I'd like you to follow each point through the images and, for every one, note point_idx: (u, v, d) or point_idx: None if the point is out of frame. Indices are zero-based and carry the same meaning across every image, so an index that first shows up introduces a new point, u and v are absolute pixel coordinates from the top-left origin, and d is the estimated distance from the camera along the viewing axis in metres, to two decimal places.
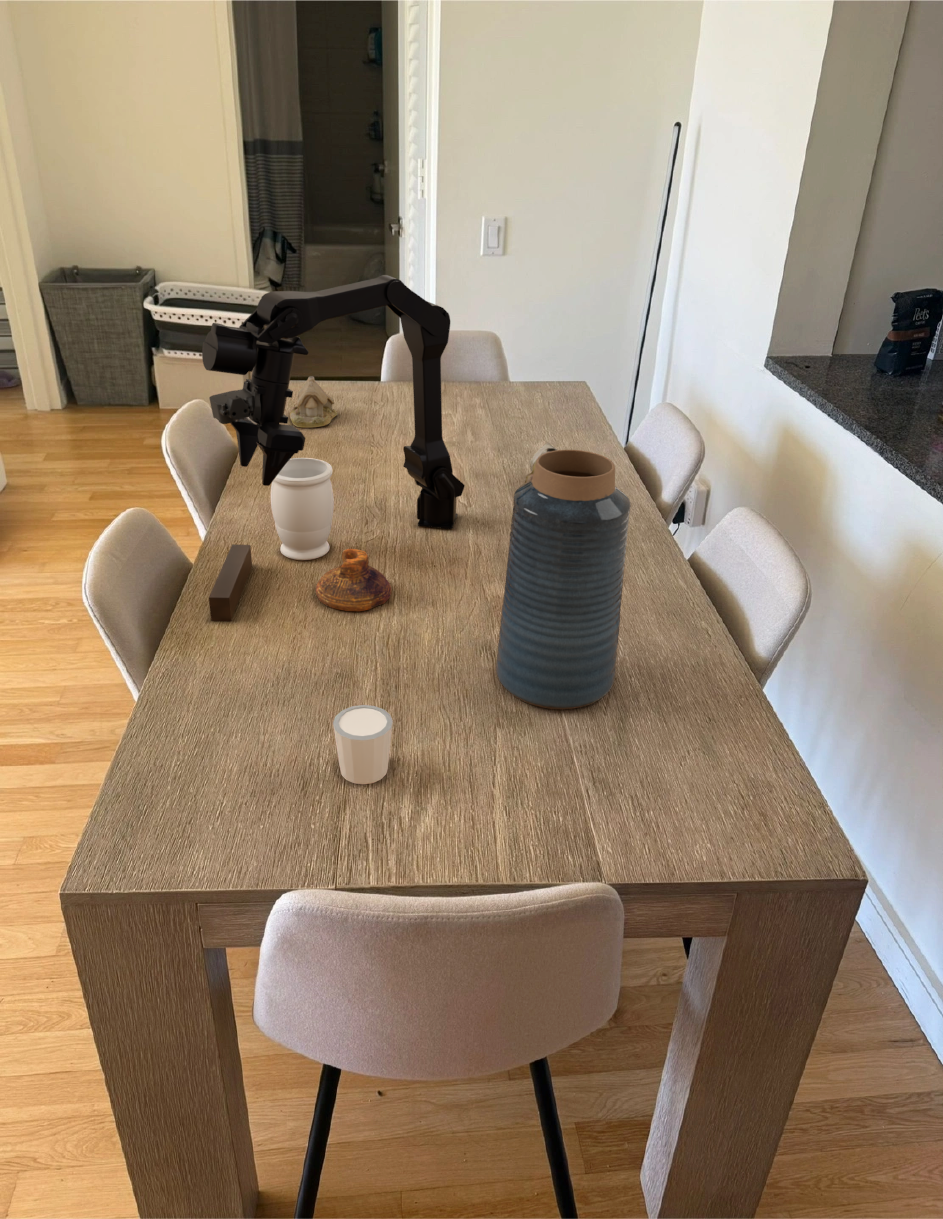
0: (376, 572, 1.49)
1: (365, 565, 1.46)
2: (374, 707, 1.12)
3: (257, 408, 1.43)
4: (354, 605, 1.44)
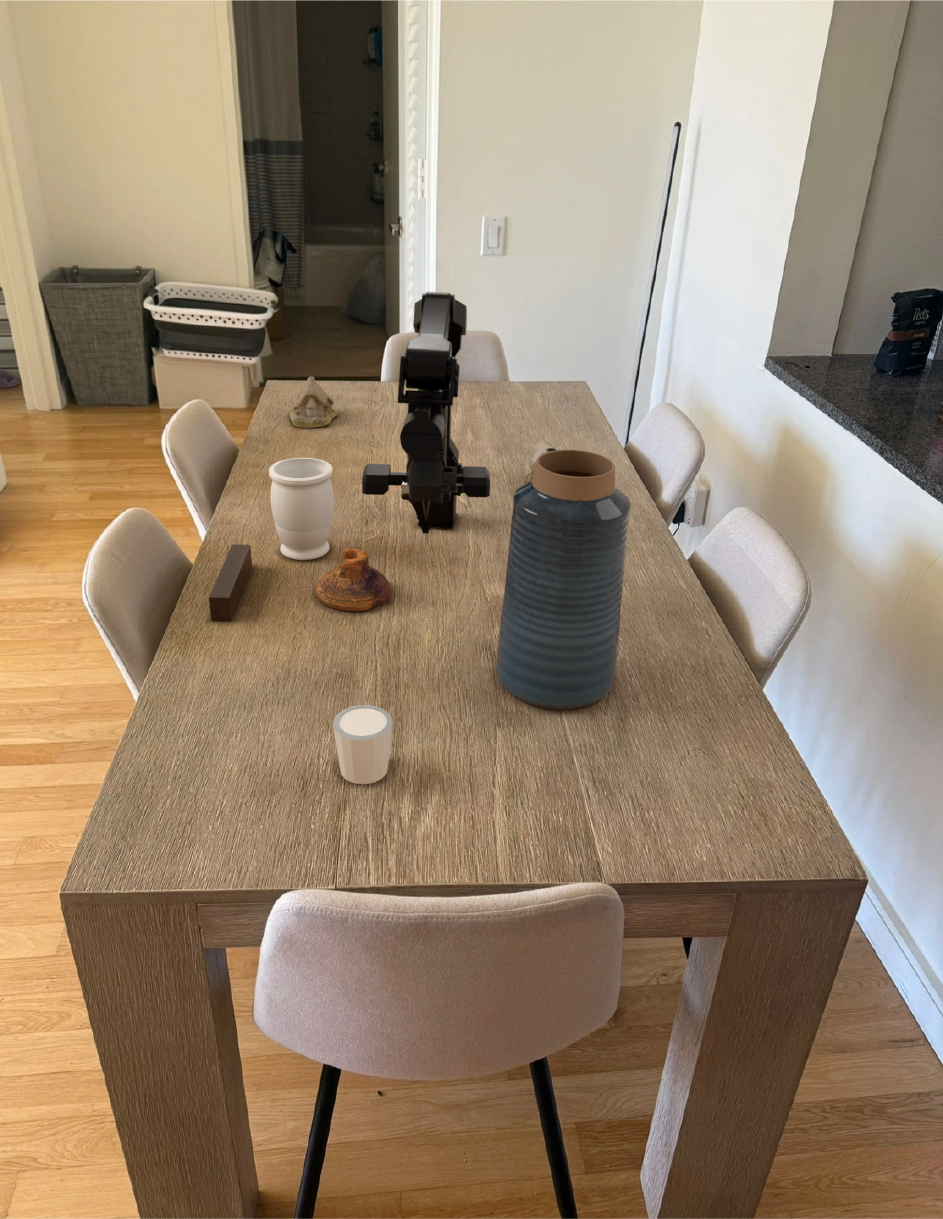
0: (376, 572, 1.49)
1: (365, 565, 1.46)
2: (374, 707, 1.12)
3: None
4: (354, 605, 1.44)
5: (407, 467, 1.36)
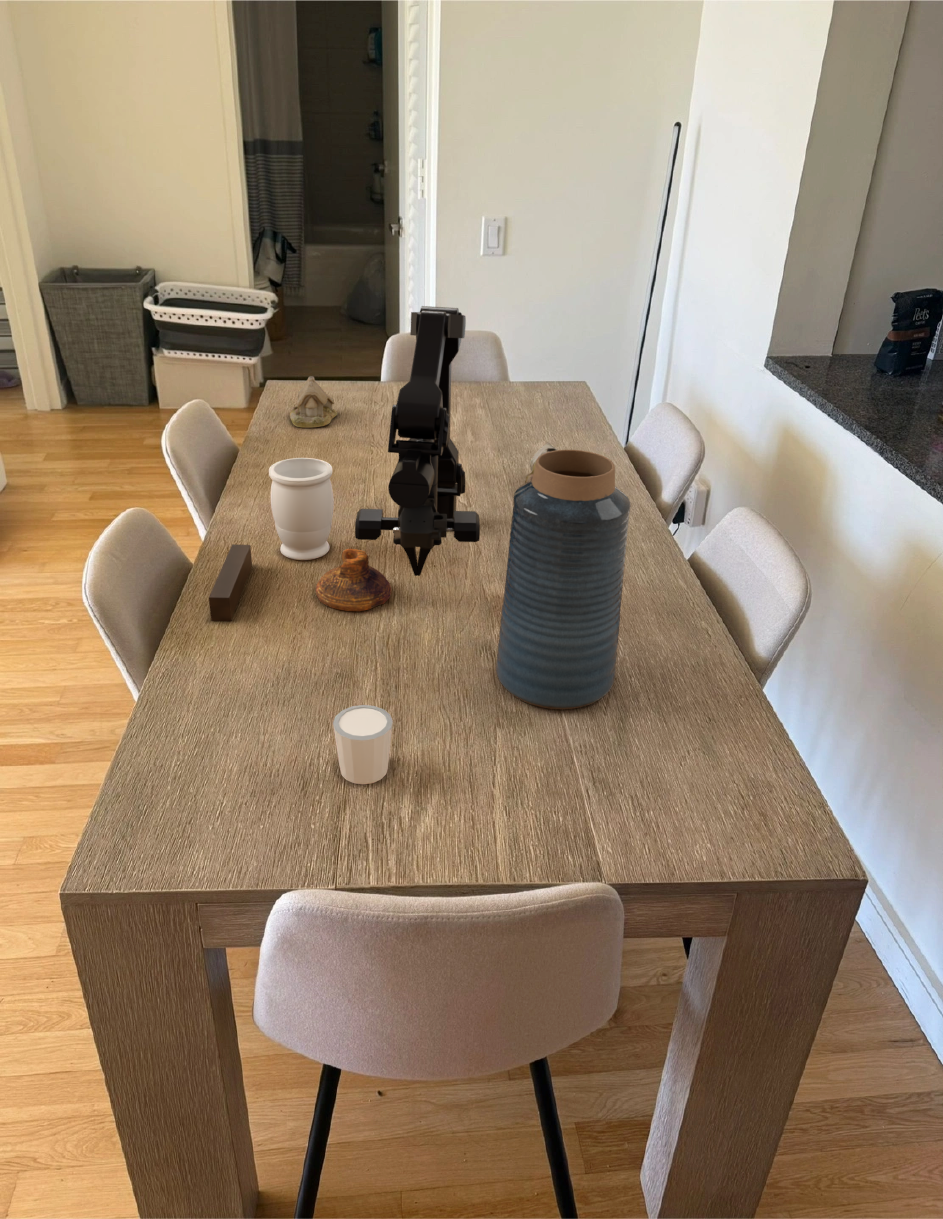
0: (376, 572, 1.49)
1: (365, 565, 1.46)
2: (374, 707, 1.12)
3: None
4: (354, 605, 1.44)
5: (399, 513, 1.39)
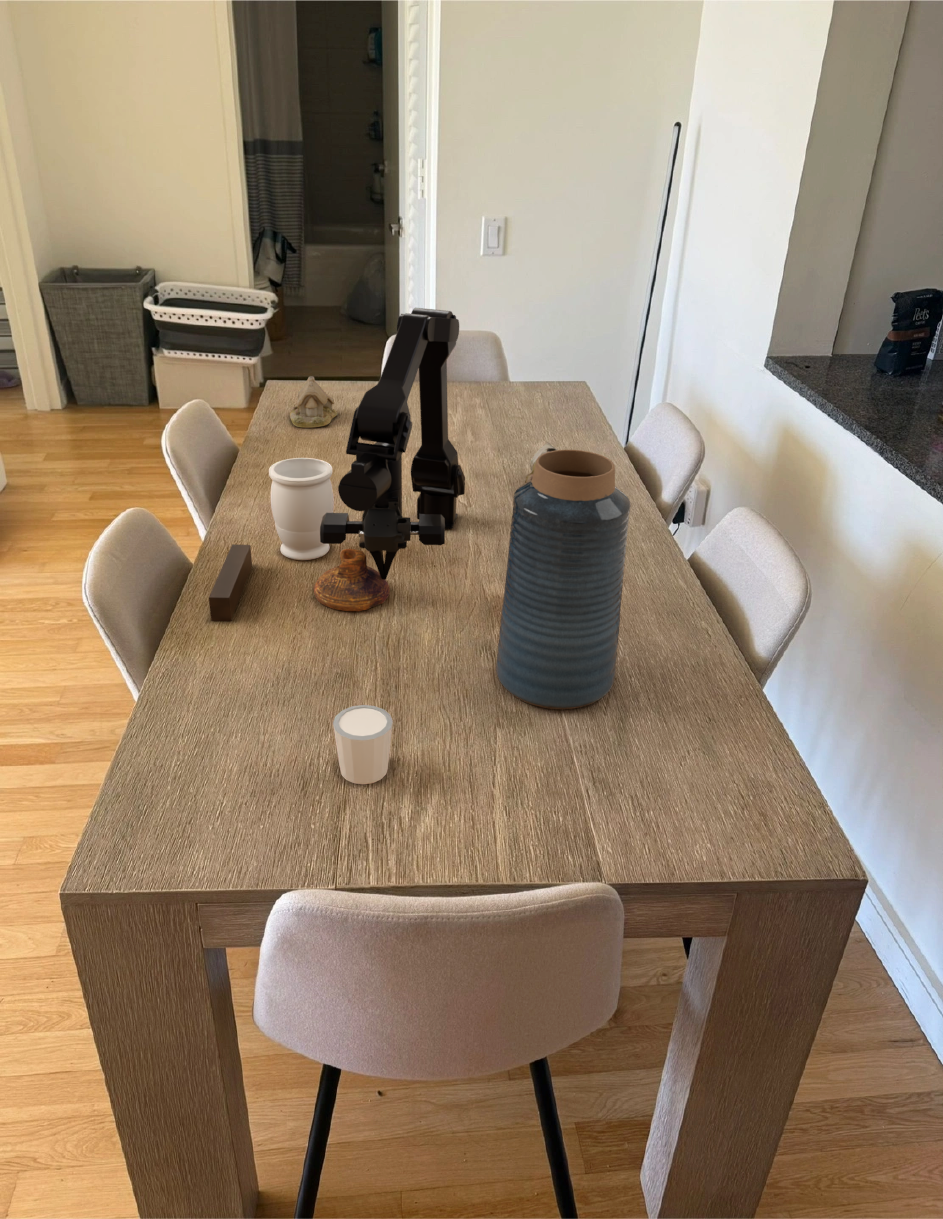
0: (374, 572, 1.49)
1: (363, 565, 1.46)
2: (374, 707, 1.12)
3: None
4: (352, 605, 1.44)
5: (363, 517, 1.40)
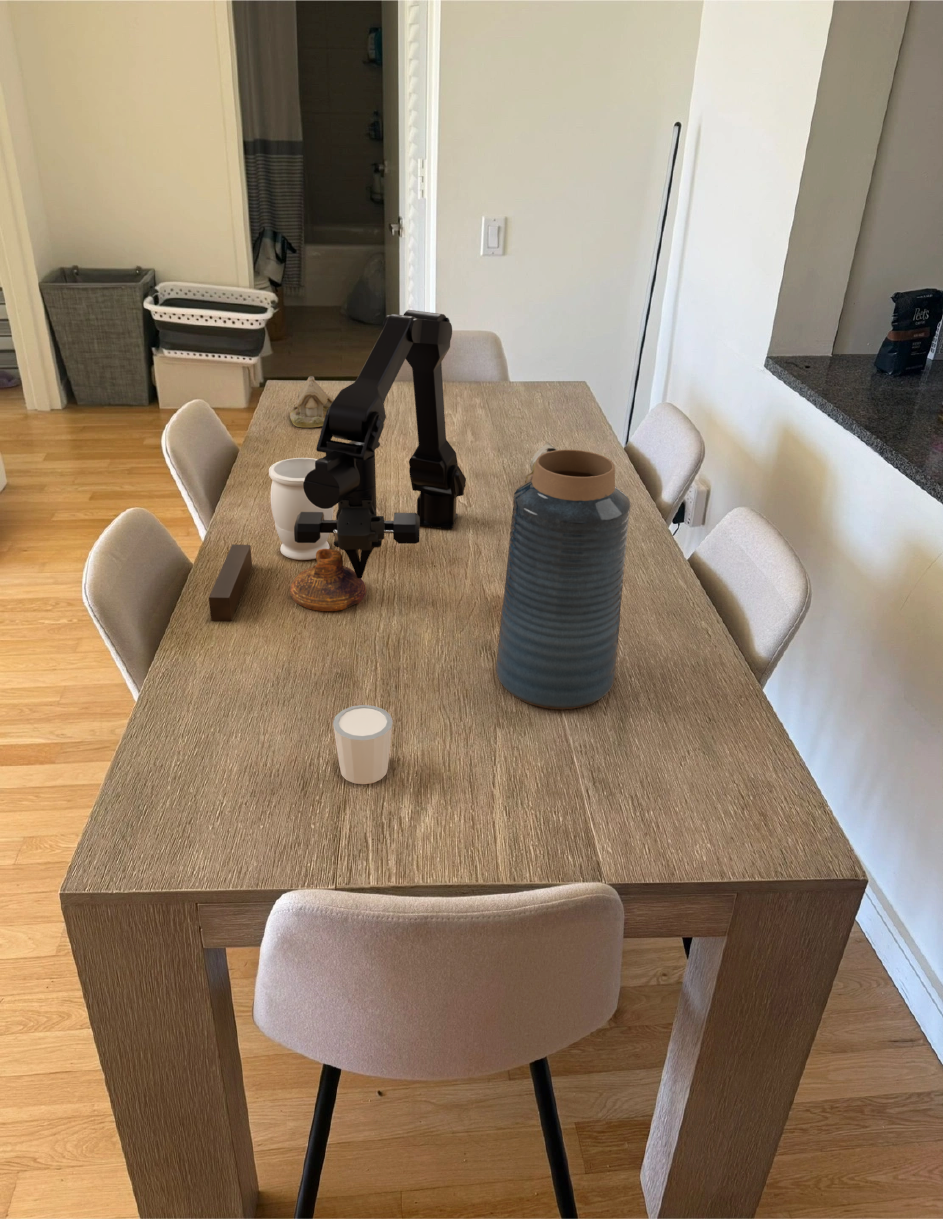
0: (351, 572, 1.49)
1: (339, 565, 1.45)
2: (374, 707, 1.12)
3: None
4: (329, 605, 1.44)
5: (337, 516, 1.39)
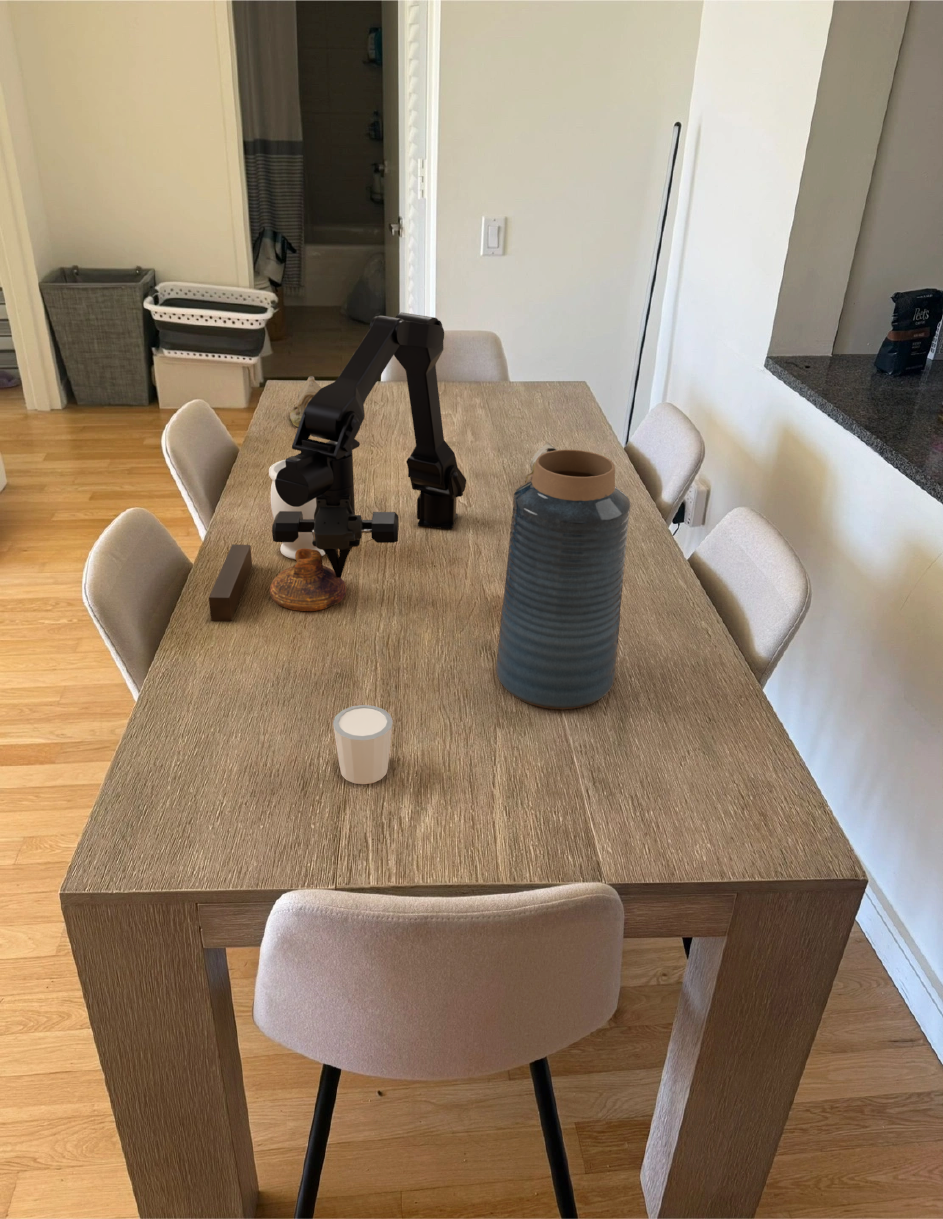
0: (331, 571, 1.49)
1: (319, 564, 1.45)
2: (374, 707, 1.12)
3: None
4: (309, 605, 1.43)
5: (315, 515, 1.39)
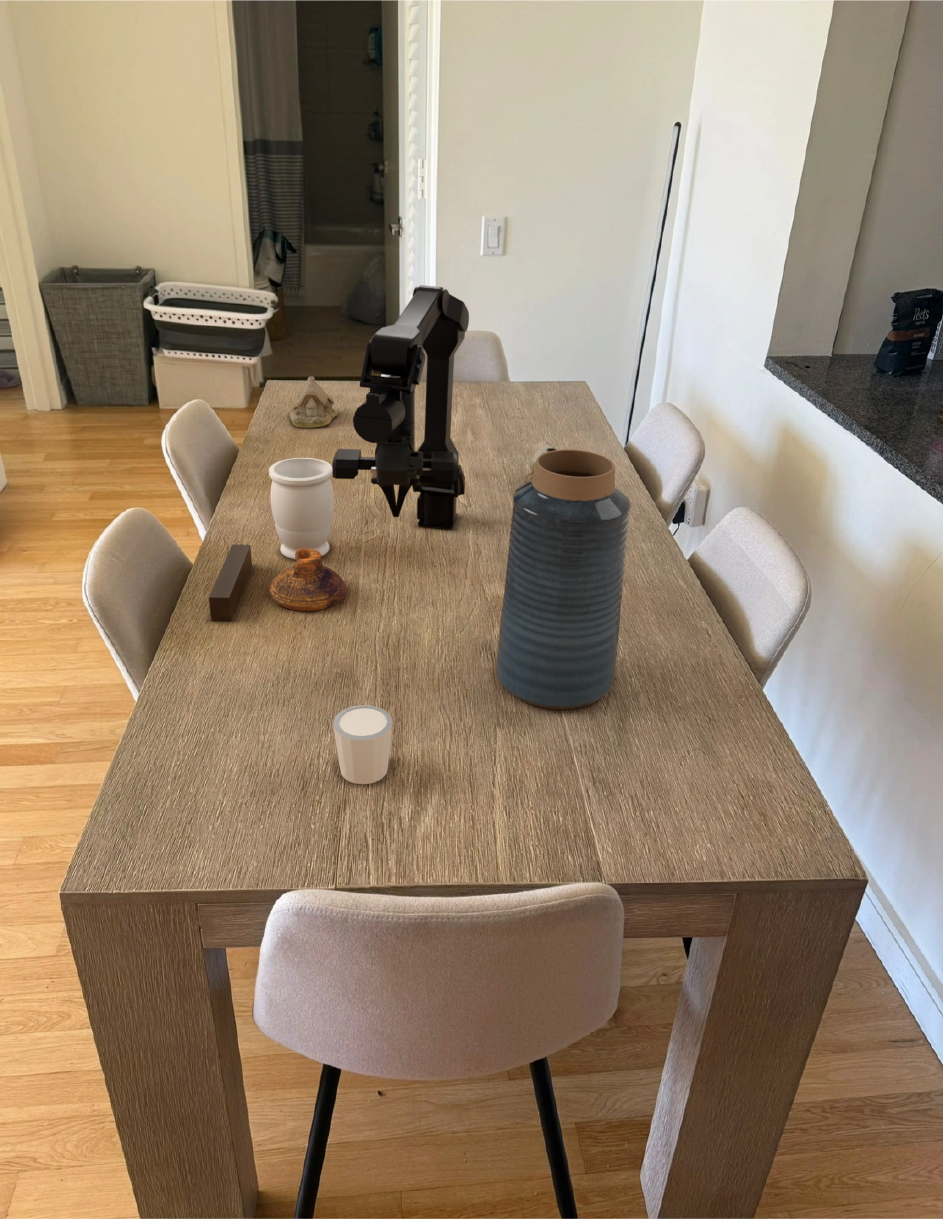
0: (330, 571, 1.49)
1: (319, 564, 1.45)
2: (374, 707, 1.12)
3: None
4: (309, 605, 1.43)
5: (375, 452, 1.39)
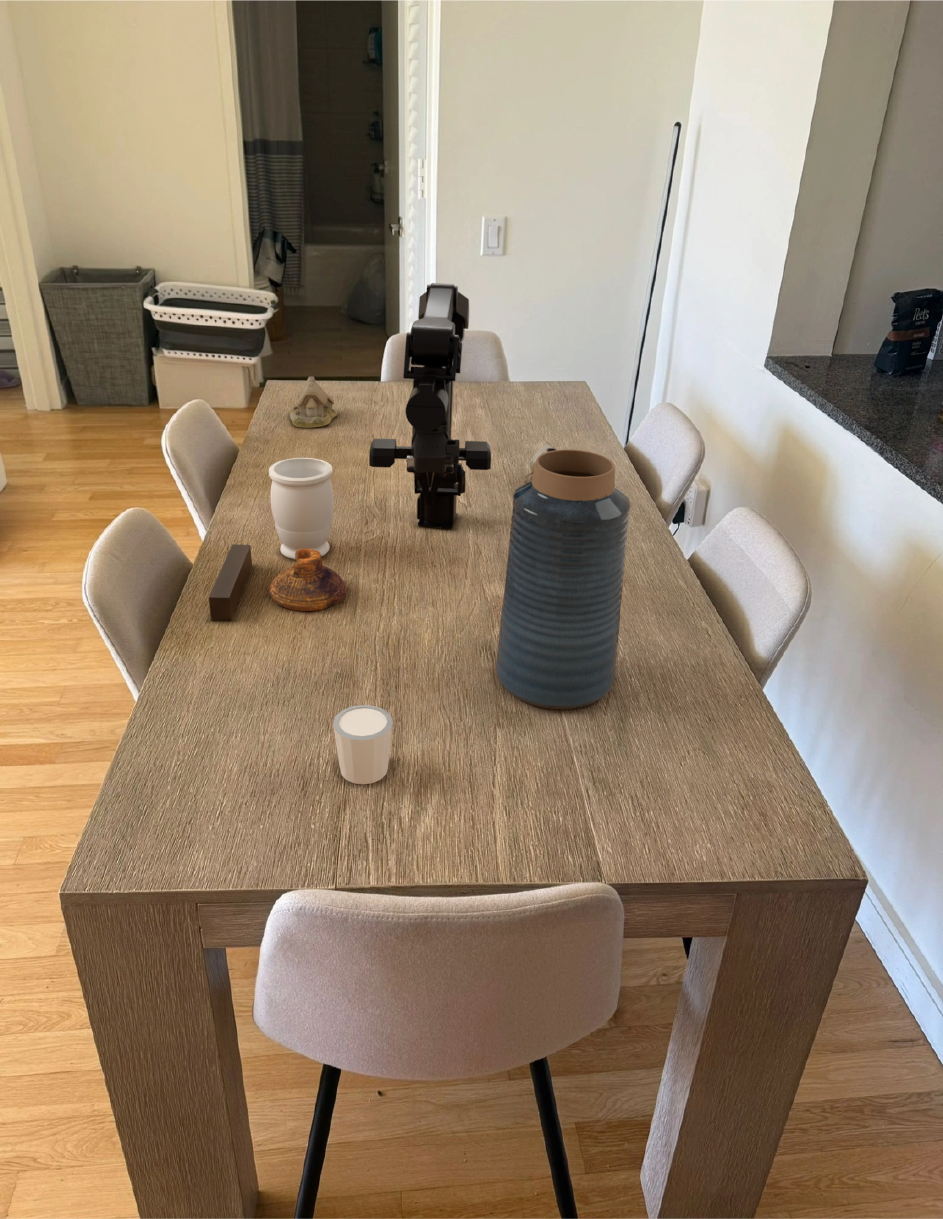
0: (330, 571, 1.49)
1: (319, 564, 1.45)
2: (374, 707, 1.12)
3: None
4: (309, 604, 1.43)
5: (412, 440, 1.43)
